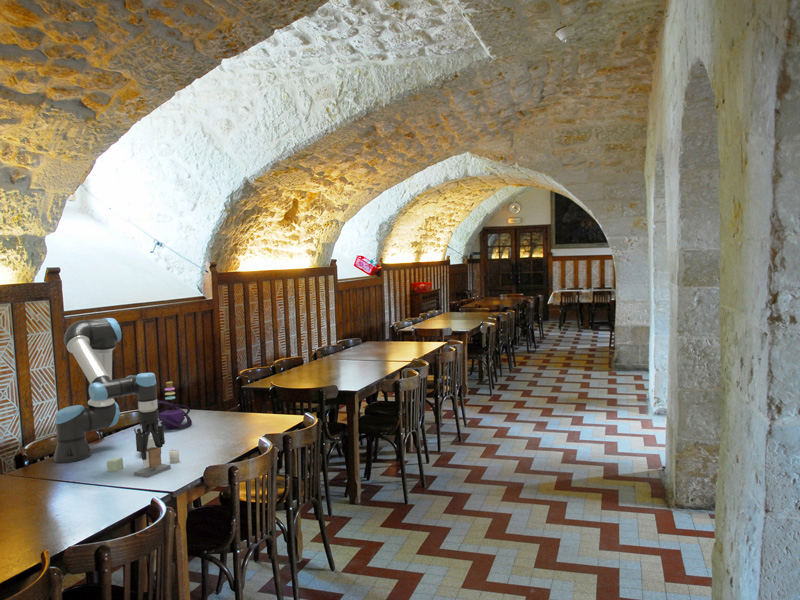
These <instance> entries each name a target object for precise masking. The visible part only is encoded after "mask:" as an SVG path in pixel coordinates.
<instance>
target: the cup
mask: <svg viewBox="0 0 800 600" xmlns="http://www.w3.org/2000/svg"><path fill="white" fill-rule="evenodd" d="M151 447H156V446H155V443H154V440H153V437H152V434H150V435H149V438H148V445H147V449H148V448H151ZM139 453H140V454H141V452H139Z"/></svg>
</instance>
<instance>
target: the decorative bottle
mask: <svg viewBox="0 0 800 600" xmlns="http://www.w3.org/2000/svg"><path fill="white" fill-rule="evenodd" d="M173 383H174V382H173V381H172V380H171V381H167V382H165V385H166V388H164V391H167V392H165V393H164V395H165V396H166V397H164V399H165V400H167V401H165V400H159V399H157V404H158V405H159V404H164V405H167V406H166V407H164V408H161V409H160V410H159V409H158V421H164V428H166V430H174V429H178V428H183V429H185V428H190V427H191V426H192V425H193V423H192V422H193V421H192V419H191V417H190V416H189V413H190V412H191V408H190V406H188V405H186V404H185V405H184V404H173V403H171V402H168V401H170V400H175V399H176V396H175V394H176V392H175V391H174V390H175V389H176V388H175V387H174V386H173ZM181 407H183V408H186V409H187V411H184V410H183V409H182V408H181ZM169 408H173V409H169ZM166 409H167V410H166ZM185 419H186V423H183V422H184V421H185Z"/></svg>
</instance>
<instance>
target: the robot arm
mask: <svg viewBox="0 0 800 600" xmlns="http://www.w3.org/2000/svg"><path fill="white" fill-rule="evenodd" d="M65 330H66V331H65V333H64V336H63V342H64V345H65V348H66V349H67V351H68V352H69V353H71V354H72V355H73V356H74V359H75V360H76V361H77V363H78V365H79V367H80V369H81V370H82V373H84V375H85V377H86V379H87V381H88V382H89V386H88V395H89V400H88V401H87V406H84V405H82V404H76V405H71V406H66V407H64V408H61V409H59V410H58V411H57V412H56V413H55V420H54V421H55V422H54V423H55V429H56V443H57V445H56V447H55V451H54V456H53V457H54V458H53V460H54V463H59V464H65V463H66V464H67V463H73V462H79V461H82V460H85V459H88V458H90V457H91V456H92V449H91V447H90V445H89V443H88V441H87V439H86V437H87V436H86V433H89V432H95V431H99V430H104V429H108V428H111V427H114V426H115V425H116V424H118V422H119V420H120V419H119V418H120V414H121V413H120V406H119V404H118V403H117V402H116V401H115V398H122V397H126V396H131V395H136V396H137V408H138V409H137V410H138V411H139V412H138V419H139V420H138V421H139V426H138V427H135V428H134V429H133V432H134V434H135V444H136V445H135V447H136V452H137V453H140V452H141V453H140V455H141V460H142V462H143V463H142V464H144V466H143V468H145V467H150V466H149V452H148V451H147V445H148V438H149V435H152V437H153V440H154V443H155V446H156V448H160V451H161V452H162V447H164V445H165V443H166V442H165V441H166V440H165V429H164V428H165V427H164V421H158V420H159V416H158V411H159V409H158V406H159V404H157V400H158V394H157V392H158V391H157V380H156V374H155V373H154V372H141V373H138V374H137V375H136V374H135V375H128V376H126V377H122V378H116V379H113V351H114V350H115V348H116V347H117V343H119V342H121V339H122V330H121V327H120V324H119V322H118V321H117V319H115V318H113V317H101V318H93V319H82V320H81V319H80V320H78V321H75V322H73V323H72V324H70V326H69V327H68V328H67V329H65Z"/></svg>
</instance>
